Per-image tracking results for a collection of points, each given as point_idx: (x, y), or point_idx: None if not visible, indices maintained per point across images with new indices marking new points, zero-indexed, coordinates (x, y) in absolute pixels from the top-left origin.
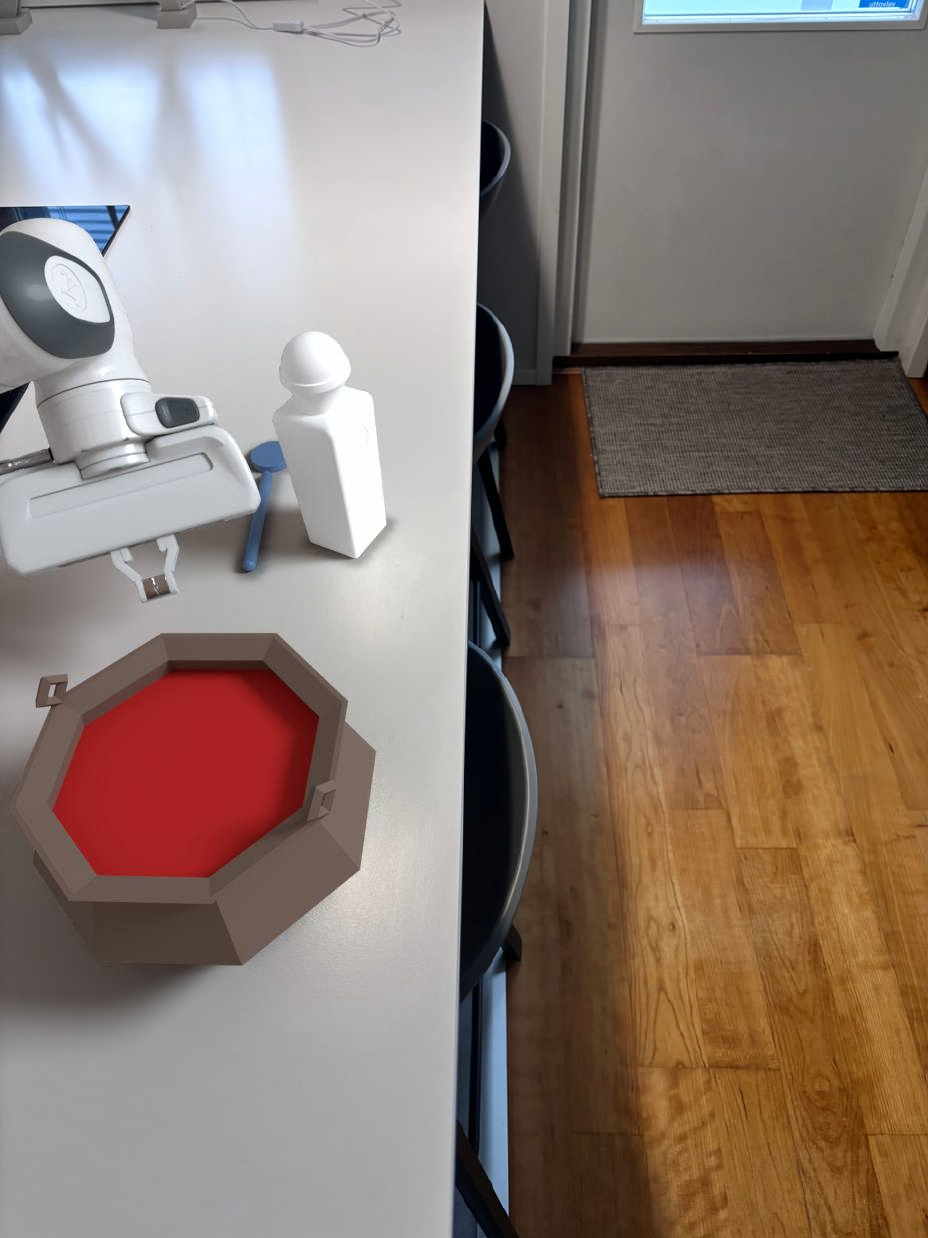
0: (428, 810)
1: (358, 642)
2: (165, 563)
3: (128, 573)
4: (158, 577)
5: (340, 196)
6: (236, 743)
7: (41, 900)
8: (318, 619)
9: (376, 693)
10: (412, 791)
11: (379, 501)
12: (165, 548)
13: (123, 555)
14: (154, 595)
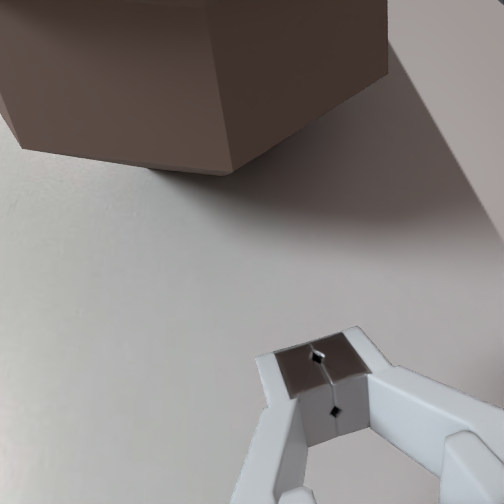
0: (3, 122)
1: (6, 378)
2: (285, 431)
3: (427, 386)
4: (311, 385)
5: None
6: None
7: (381, 79)
8: (60, 447)
9: (9, 273)
10: (11, 142)
11: None
12: (283, 502)
13: (490, 462)
14: (320, 339)
